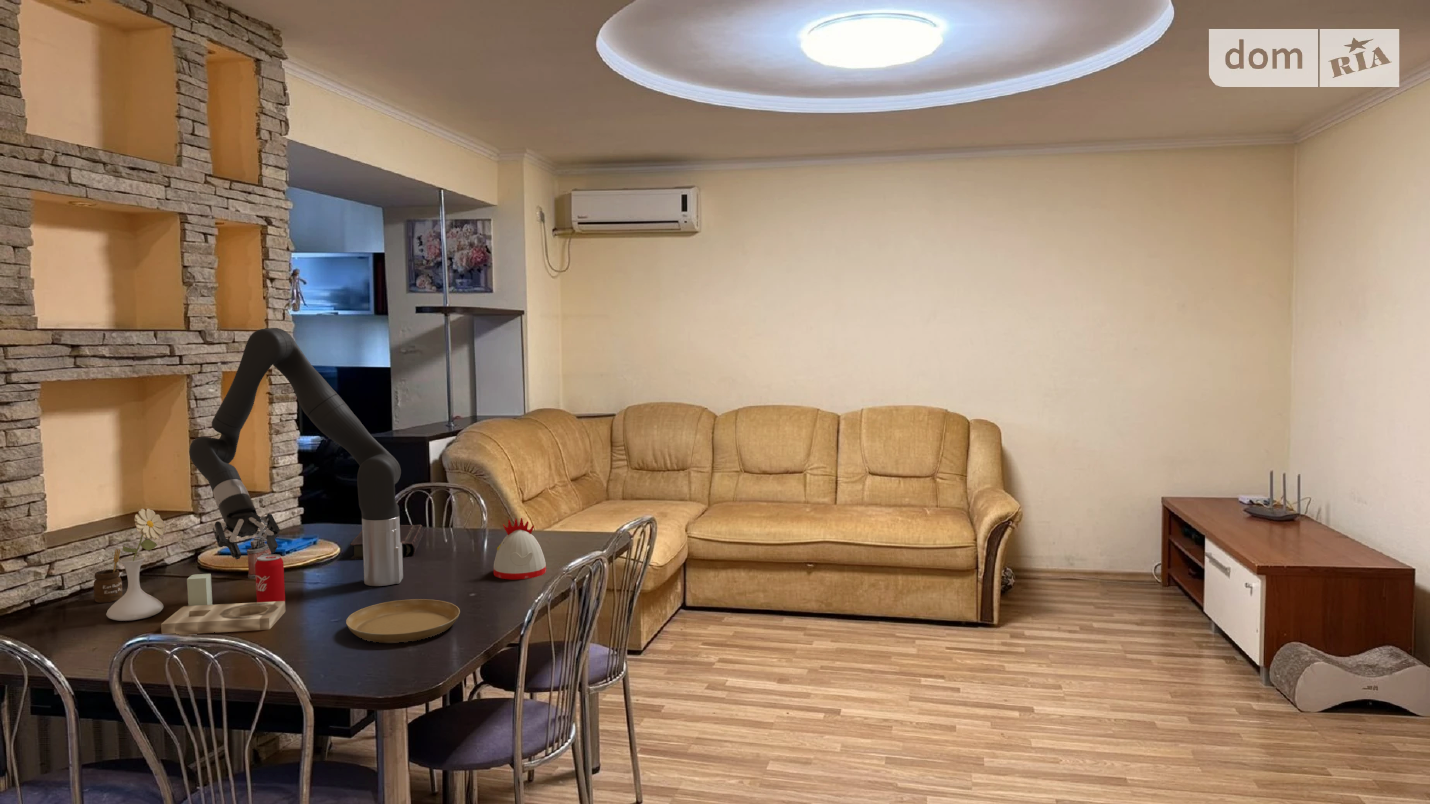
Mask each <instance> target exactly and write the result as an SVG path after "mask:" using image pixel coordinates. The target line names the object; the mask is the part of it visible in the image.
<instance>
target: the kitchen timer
mask: <svg viewBox="0 0 1430 804" xmlns="http://www.w3.org/2000/svg"><path fill="white" fill-rule="evenodd" d="M514 519H515V520H514V523H513V524H514V525H512V522H511V520H510V518H508V519H507V526H506V525H505V524H504V523H502V526H503V528H504V530H505V532H506V536H505V537H504V538H503V539H502V541H501V543H499V546H498V547H497V548H496V553H495V559H494V561H493V576H494V577H496V578H499V579H501V580H504V579H505V580H527V579H533V578H537V577H540V576H543V575H544V574H545V573H546V572H547V565H546V564H547V563H546V559H545V555H544V553H543V550H542V547H541V545H540V544H539V542H538V540H537V538H536V537H535V536H534V535H533V534H532V532H533V530H534V527H535V525H533V524H532V525H531V527H530V529H528V527H529V521H526V523H525V524H524V521H523V520H524V519H523V517H521V518H520V521H519V525H518V520H517V518H514Z"/></svg>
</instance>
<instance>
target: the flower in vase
mask: <svg viewBox="0 0 1430 804" xmlns="http://www.w3.org/2000/svg"><path fill="white" fill-rule="evenodd" d="M134 522H135V523H134V525H135V527H136V531H137V532H139V534H140V539H139V542H138V546H137V547H136V548H134V547H133V548H131V547H127V546H124V545H122V551H123V552H125V553H126V552H127V553H134V555H133V556H129V557H123V558H121V559H119V562H120V563H121V564H122V565H123V566H124V569H125V572H126V576H127V589H126V592H125V593H124V594H122V597H121V598H120V599H119V600H117V601H114V603H113V604H112V605H111V606H110V607H109V608H108V609H107V612H106V613H105V615H106V617H107V618H108V619H110V620H113V621H117V622H118V621H120V622H122V621H123V622H124V621H125V622H127V621H129V622H130V621H136V620H142V619H143V620H144V619H147V618H150V617H152V616H156V615H157V614H159V613H161V611H163V609H164V604H163V603H162V601H160V600H159V599H157V598H156V597H155V596H152V595H150V594H148V593H146V592H145V591H144V590H143V589H142V587H141V583H140V569H141V567H142V564H143V562H144V560H145V559H146V557H145V556H140V555H139V556H137V553H138V551H139V549H140V547H141V548H143V549H144V550H146V551H151V550H153V549H154V548H156V547H157V546H158V544H157V542H155V541H153V540H159V539H160V538H161V537H160V536H164V533H166V530H165V528H166V524H165V523H164V520H163V519H162V518H161V515H160V514H156V512H155V511H154V510H153V509H150V508H147V509H146V510H145V509H144V508H141V509H140V510H139V511H138V514H137V513H136V514H135V515H134ZM143 538H144V540H143ZM152 539H153V540H152ZM142 540H143V541H142Z"/></svg>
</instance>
